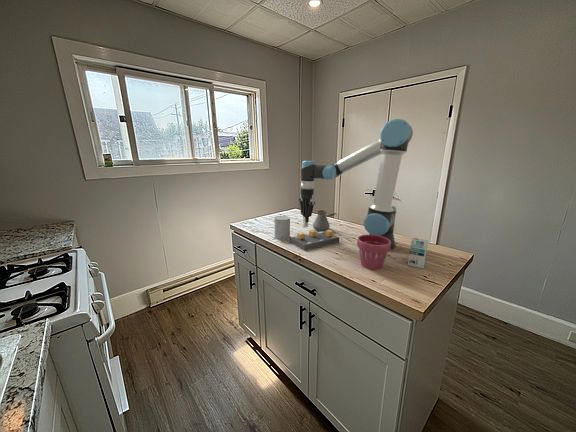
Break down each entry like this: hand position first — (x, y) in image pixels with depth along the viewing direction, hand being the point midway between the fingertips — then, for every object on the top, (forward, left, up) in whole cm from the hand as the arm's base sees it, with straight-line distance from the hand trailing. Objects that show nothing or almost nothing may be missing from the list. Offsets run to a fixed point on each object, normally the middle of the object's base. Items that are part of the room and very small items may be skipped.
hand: (305, 226), depth 143 cm
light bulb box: (-55, -25, -7) cm, 61 cm away
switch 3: (-12, -9, -3) cm, 15 cm away
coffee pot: (+3, -18, -7) cm, 20 cm away
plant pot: (-46, -4, -7) cm, 47 cm away
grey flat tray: (-9, 0, -7) cm, 12 cm away
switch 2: (-7, 0, -3) cm, 8 cm away
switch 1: (-7, +8, -3) cm, 12 cm away
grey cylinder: (+8, +12, -7) cm, 16 cm away
